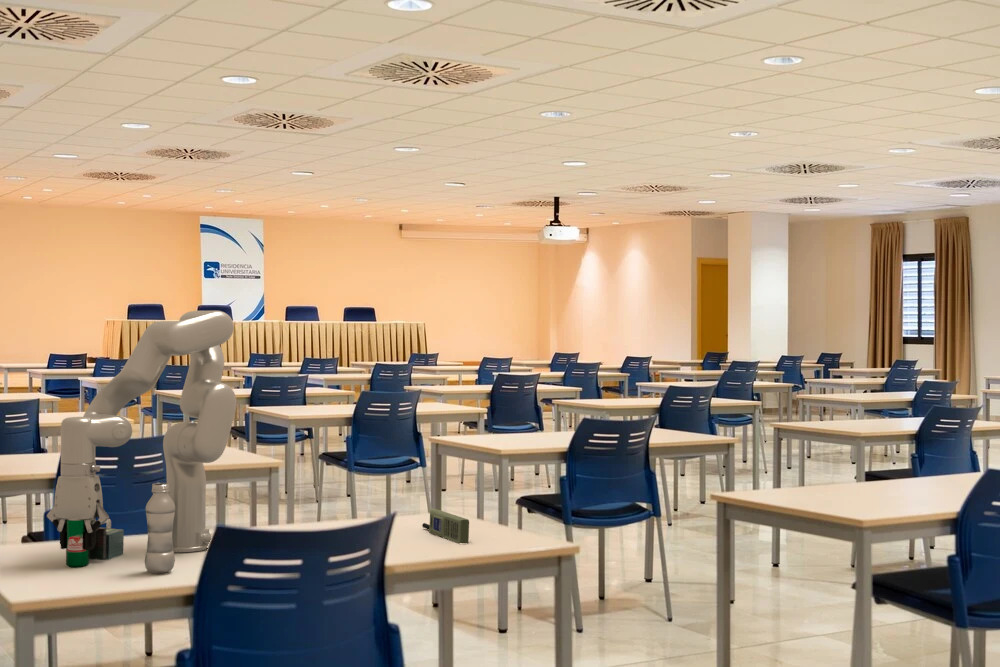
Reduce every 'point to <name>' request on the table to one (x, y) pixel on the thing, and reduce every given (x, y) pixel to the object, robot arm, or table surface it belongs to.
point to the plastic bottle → (160, 530)
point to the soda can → (76, 544)
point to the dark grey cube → (114, 543)
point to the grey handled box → (100, 543)
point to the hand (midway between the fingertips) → (77, 547)
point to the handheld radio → (448, 526)
